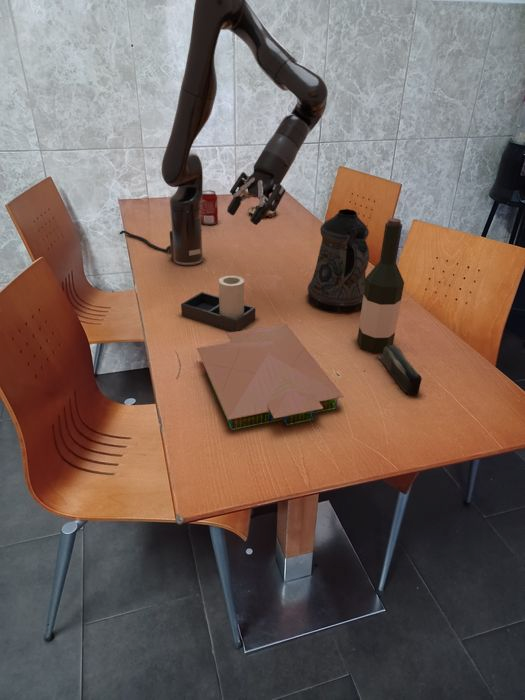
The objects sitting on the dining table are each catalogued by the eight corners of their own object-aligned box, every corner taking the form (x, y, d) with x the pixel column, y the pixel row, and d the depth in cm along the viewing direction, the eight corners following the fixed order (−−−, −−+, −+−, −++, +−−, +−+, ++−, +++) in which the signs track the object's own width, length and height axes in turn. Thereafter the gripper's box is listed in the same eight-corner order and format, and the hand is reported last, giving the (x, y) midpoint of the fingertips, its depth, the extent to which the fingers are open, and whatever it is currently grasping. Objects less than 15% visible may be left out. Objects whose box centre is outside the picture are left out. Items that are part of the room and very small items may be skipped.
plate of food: (250, 209, 214) (250, 191, 210) (277, 211, 212) (278, 193, 208) (245, 217, 203) (245, 199, 199) (274, 219, 202) (275, 200, 198)
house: (232, 443, 88) (232, 406, 84) (192, 350, 115) (190, 319, 111) (348, 418, 95) (353, 383, 91) (285, 336, 121) (287, 305, 117)
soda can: (215, 226, 193) (214, 194, 187) (198, 224, 194) (197, 193, 188) (219, 221, 199) (219, 190, 192) (203, 219, 200) (202, 189, 193)
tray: (181, 315, 129) (180, 303, 128) (202, 303, 136) (201, 291, 134) (236, 333, 122) (236, 321, 120) (255, 319, 128) (255, 307, 127)
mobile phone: (425, 376, 99) (390, 337, 111) (411, 378, 99) (378, 339, 111) (420, 396, 102) (386, 356, 114) (407, 398, 101) (374, 357, 113)
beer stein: (332, 283, 149) (340, 198, 136) (387, 304, 137) (402, 214, 124) (294, 299, 139) (300, 209, 126) (351, 324, 127) (363, 228, 114)
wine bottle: (371, 357, 114) (392, 228, 98) (349, 340, 120) (366, 216, 105) (399, 349, 117) (424, 223, 102) (377, 333, 124) (396, 212, 108)
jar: (215, 320, 126) (213, 281, 120) (228, 311, 130) (228, 273, 125) (235, 326, 123) (234, 287, 118) (248, 317, 128) (248, 279, 122)
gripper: (247, 144, 120) (213, 202, 120) (289, 155, 111) (252, 218, 112) (264, 162, 126) (231, 218, 126) (305, 174, 117) (269, 234, 118)
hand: (241, 218), depth 119 cm, fingers open, 8 cm apart
